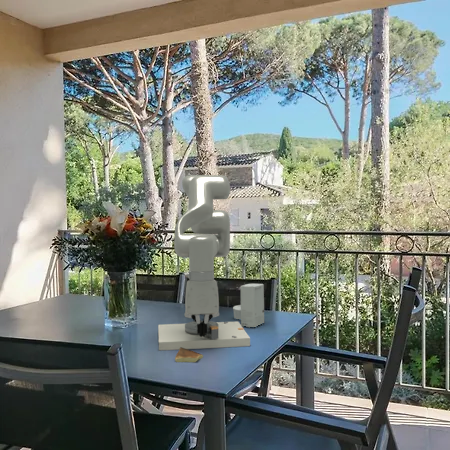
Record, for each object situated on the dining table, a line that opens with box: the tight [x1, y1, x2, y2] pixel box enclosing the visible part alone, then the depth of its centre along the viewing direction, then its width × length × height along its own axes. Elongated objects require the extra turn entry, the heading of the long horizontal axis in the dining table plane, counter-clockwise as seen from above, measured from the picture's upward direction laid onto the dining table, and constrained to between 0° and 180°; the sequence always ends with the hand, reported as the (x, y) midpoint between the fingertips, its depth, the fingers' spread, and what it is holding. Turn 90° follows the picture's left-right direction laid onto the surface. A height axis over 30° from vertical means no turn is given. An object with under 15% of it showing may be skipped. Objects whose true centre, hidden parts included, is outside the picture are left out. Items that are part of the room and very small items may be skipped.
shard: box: [174, 347, 204, 363], centre depth 142 cm, size 11×8×2 cm
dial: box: [184, 320, 218, 339], centre depth 157 cm, size 18×11×4 cm, turn 23°
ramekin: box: [232, 304, 241, 320], centre depth 189 cm, size 9×9×4 cm
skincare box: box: [240, 283, 265, 328], centre depth 178 cm, size 8×6×15 cm
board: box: [157, 320, 251, 351], centre depth 160 cm, size 22×28×3 cm
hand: (202, 335), depth 150 cm, fingers closed
